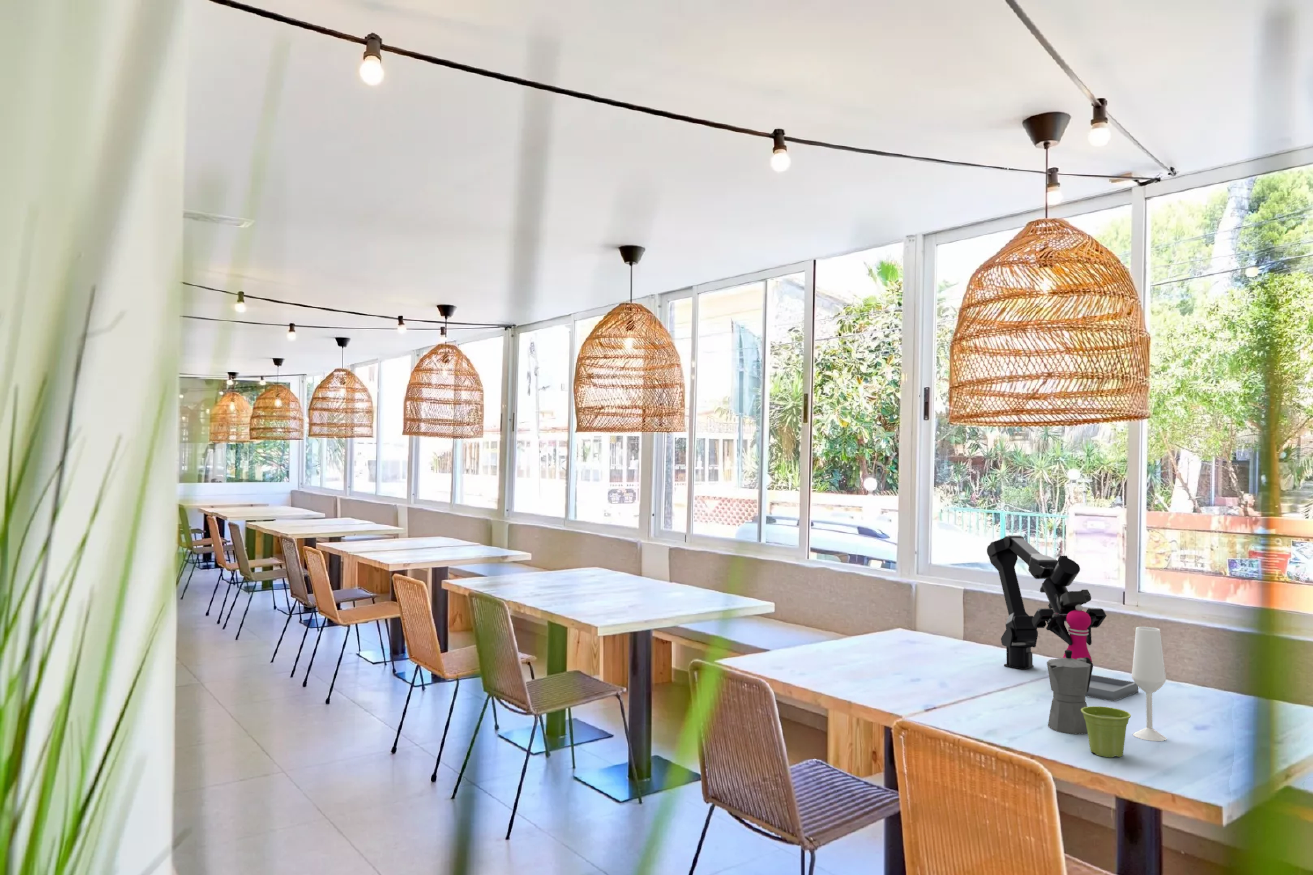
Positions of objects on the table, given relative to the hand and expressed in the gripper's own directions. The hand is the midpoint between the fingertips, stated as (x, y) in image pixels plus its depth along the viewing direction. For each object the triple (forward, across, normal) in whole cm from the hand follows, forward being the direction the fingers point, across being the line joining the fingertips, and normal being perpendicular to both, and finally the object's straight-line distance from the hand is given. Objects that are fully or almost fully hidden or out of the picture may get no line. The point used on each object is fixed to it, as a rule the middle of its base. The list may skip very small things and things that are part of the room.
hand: (1080, 644), depth 234 cm
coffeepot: (+30, -20, -12) cm, 38 cm away
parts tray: (+7, +6, +12) cm, 15 cm away
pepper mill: (+6, 0, +8) cm, 10 cm away
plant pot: (+43, -22, -25) cm, 55 cm away
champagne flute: (+35, -6, -17) cm, 40 cm away
